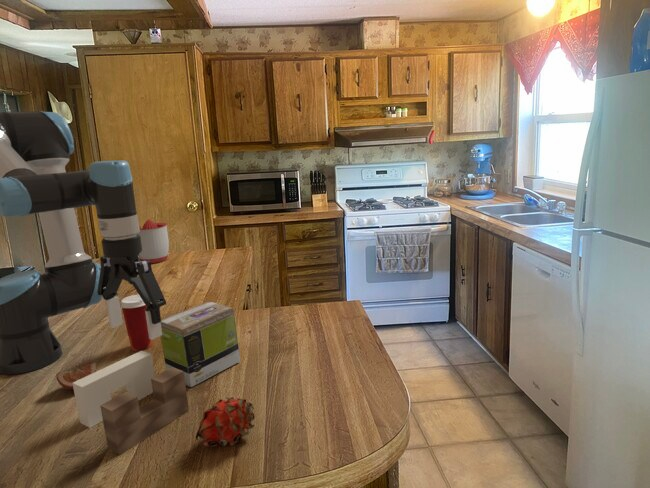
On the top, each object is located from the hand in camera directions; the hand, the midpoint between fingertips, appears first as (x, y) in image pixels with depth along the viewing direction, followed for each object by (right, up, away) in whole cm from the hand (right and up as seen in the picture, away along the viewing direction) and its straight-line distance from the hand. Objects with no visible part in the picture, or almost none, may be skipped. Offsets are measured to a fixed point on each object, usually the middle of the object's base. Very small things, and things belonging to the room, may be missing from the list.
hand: (135, 331), depth 102 cm
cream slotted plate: (-3, -16, -1) cm, 16 cm away
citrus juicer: (-40, +11, +122) cm, 129 cm away
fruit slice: (-16, -15, +8) cm, 23 cm away
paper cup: (-9, -9, +28) cm, 31 cm away
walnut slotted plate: (+7, -17, -10) cm, 21 cm away
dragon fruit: (+23, -18, -15) cm, 33 cm away
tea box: (+12, -12, +13) cm, 21 cm away
